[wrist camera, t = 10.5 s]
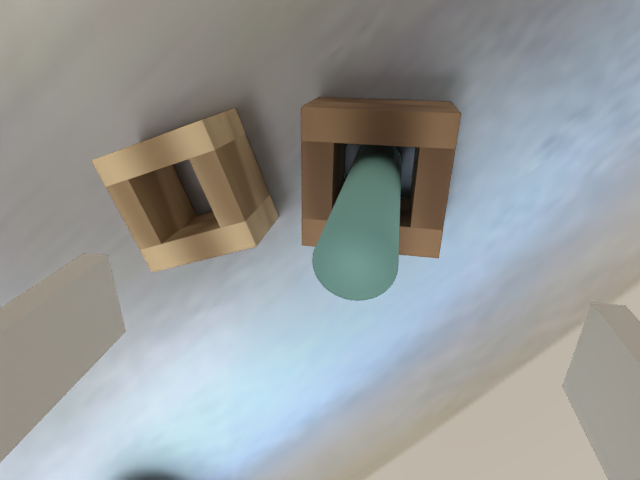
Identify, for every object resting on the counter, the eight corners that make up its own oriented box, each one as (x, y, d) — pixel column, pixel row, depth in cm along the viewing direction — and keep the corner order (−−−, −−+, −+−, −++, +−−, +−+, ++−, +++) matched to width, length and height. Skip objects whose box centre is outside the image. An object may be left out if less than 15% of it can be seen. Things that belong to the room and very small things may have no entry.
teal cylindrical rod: (353, 183, 28) (311, 294, 15) (356, 138, 26) (313, 220, 14) (398, 187, 27) (393, 305, 15) (404, 142, 26) (403, 229, 13)
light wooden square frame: (187, 241, 32) (152, 272, 28) (138, 143, 29) (91, 160, 25) (278, 216, 30) (256, 246, 25) (235, 107, 27) (201, 119, 23)
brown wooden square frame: (317, 215, 29) (301, 245, 25) (319, 96, 26) (300, 107, 21) (433, 224, 28) (438, 258, 23) (450, 101, 24) (461, 113, 20)
